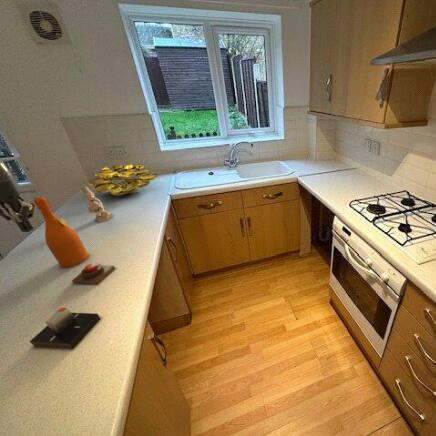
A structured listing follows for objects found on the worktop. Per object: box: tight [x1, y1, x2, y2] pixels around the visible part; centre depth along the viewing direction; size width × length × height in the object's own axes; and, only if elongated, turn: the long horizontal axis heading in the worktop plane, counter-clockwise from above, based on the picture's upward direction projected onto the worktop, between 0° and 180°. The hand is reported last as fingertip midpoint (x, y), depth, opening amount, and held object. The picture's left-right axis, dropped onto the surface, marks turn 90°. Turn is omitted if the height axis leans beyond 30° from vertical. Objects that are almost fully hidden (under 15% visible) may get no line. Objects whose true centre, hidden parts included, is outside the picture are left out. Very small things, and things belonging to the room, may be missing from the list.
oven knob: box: [44, 307, 75, 334], centre depth 69 cm, size 5×2×5 cm, turn 175°
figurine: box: [81, 186, 113, 223], centre depth 132 cm, size 9×8×20 cm
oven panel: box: [29, 312, 101, 350], centre depth 71 cm, size 12×10×3 cm
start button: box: [83, 263, 97, 273], centre depth 92 cm, size 4×4×2 cm
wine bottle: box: [32, 196, 89, 268], centre depth 96 cm, size 10×10×30 cm
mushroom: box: [86, 163, 158, 196], centre depth 170 cm, size 41×45×17 cm
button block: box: [71, 263, 116, 285], centre depth 93 cm, size 10×9×4 cm
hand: (28, 230), depth 77 cm, fingers closed
